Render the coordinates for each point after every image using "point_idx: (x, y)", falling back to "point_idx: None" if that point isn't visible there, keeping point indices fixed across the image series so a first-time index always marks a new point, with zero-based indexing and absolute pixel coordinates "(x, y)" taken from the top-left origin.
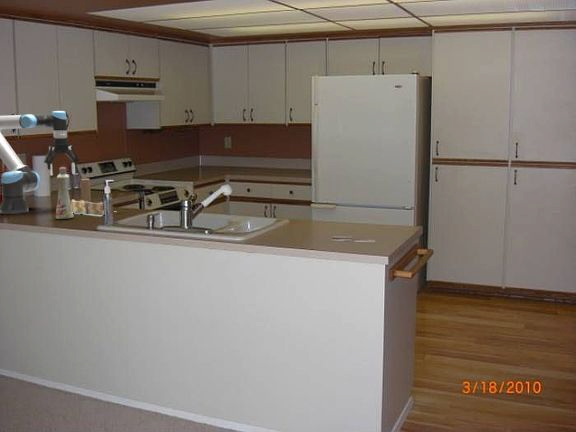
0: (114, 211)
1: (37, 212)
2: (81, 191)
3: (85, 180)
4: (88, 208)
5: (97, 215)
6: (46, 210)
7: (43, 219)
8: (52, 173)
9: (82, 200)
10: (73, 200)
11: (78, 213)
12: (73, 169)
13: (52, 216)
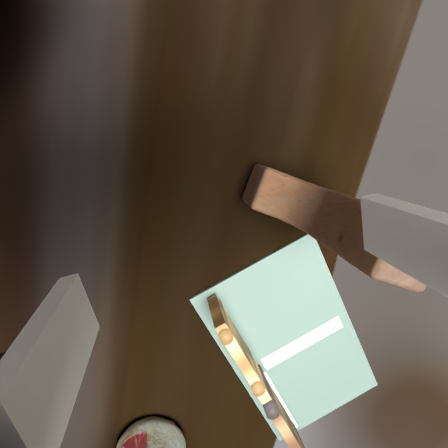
0: (360, 348)
1: (42, 202)
2: (319, 239)
3: (395, 285)
4: None
5: (274, 424)
6: (98, 138)
7: (65, 437)
8: (93, 342)
9: (260, 390)
10: (227, 342)
11: (224, 350)
12: (403, 265)
13: (110, 371)
